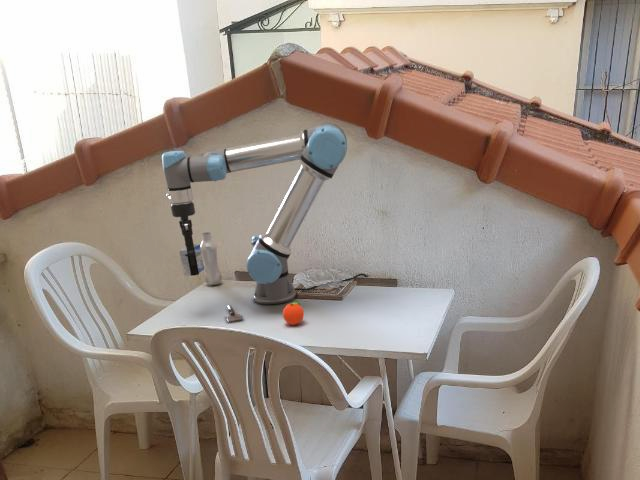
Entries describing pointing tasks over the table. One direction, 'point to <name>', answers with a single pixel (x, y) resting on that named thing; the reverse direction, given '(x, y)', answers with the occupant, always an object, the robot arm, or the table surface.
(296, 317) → the clementine
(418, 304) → the table surface
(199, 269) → the medicine box
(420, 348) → the table surface
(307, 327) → the table surface
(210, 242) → the plastic bottle
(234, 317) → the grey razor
